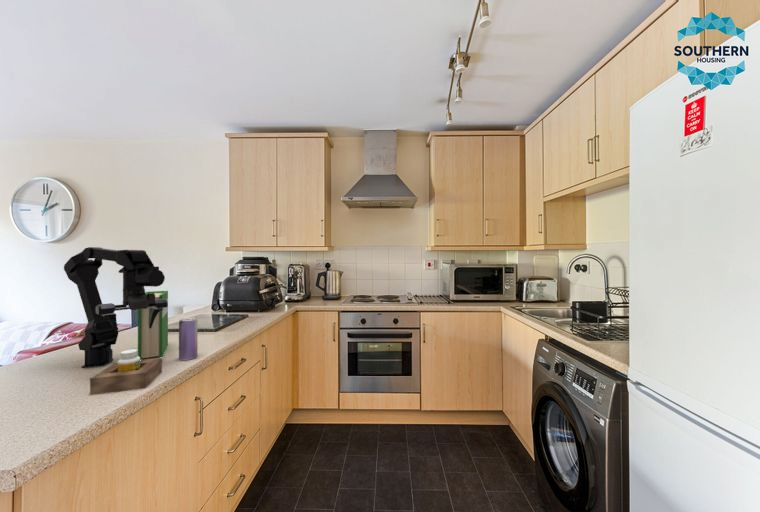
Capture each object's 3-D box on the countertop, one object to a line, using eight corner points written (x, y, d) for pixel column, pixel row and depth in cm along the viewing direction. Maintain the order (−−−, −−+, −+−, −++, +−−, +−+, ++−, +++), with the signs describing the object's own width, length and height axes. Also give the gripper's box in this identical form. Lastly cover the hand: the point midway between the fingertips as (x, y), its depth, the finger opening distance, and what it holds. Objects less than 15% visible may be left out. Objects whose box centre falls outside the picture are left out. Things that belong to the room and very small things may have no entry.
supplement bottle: (121, 380, 94) (121, 349, 94) (142, 377, 96) (142, 347, 96) (114, 387, 89) (115, 354, 89) (137, 383, 91) (137, 352, 91)
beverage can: (188, 361, 111) (188, 320, 111) (174, 360, 112) (175, 320, 112) (201, 356, 117) (201, 317, 117) (188, 355, 118) (188, 317, 118)
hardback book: (162, 357, 115) (162, 295, 115) (137, 360, 111) (137, 296, 111) (167, 345, 130) (167, 290, 130) (146, 348, 127) (146, 291, 127)
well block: (90, 394, 84) (90, 378, 84) (114, 376, 96) (114, 362, 96) (145, 388, 88) (145, 372, 88) (161, 371, 101) (161, 358, 101)
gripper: (102, 289, 92) (102, 340, 92) (173, 285, 106) (173, 329, 106) (95, 287, 98) (95, 335, 98) (162, 283, 113) (162, 324, 113)
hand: (133, 330), depth 104 cm, fingers open, 9 cm apart
